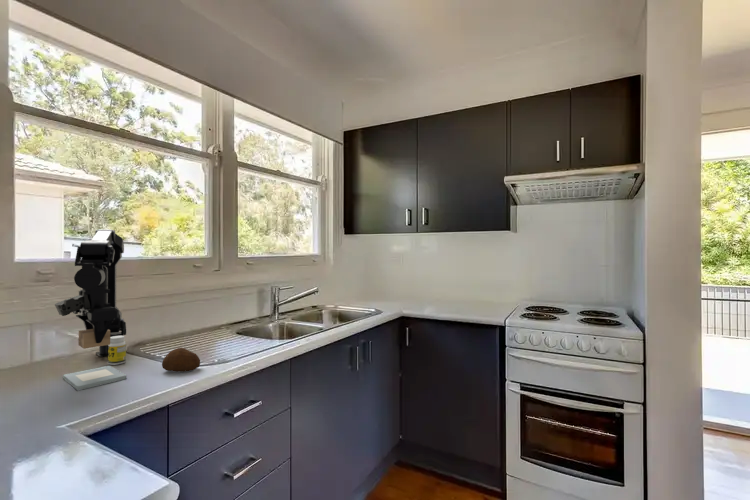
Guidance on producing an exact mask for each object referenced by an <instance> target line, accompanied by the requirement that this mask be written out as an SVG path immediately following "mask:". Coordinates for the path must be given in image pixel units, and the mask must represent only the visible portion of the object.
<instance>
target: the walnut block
mask: <svg viewBox="0 0 750 500" xmlns="http://www.w3.org/2000/svg"><path fill="white" fill-rule="evenodd" d="M104 345H110V330H109V329H108V330H107V332H106V334H105V336H104V338H103V340H102V342H101V343H96V341H95V336H94V331H93V329H88V330H86V329H80V330H78V346H80V348H82V349H90V348H98V347H99V346H104Z"/></svg>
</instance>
